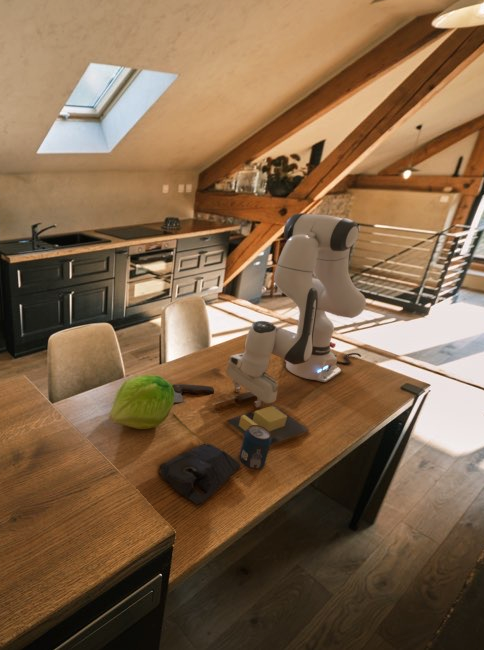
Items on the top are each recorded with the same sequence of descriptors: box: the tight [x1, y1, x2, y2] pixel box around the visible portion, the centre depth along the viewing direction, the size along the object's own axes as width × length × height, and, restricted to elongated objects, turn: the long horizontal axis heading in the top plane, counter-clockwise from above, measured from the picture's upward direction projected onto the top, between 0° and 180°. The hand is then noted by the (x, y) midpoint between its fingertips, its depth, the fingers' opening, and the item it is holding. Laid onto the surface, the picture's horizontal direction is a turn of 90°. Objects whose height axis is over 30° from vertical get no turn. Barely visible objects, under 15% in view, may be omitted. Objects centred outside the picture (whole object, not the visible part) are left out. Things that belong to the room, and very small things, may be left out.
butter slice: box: [239, 414, 257, 431], centre depth 122 cm, size 2×6×4 cm, turn 25°
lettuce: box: [108, 374, 175, 430], centre depth 124 cm, size 19×25×17 cm
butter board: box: [226, 404, 309, 446], centre depth 126 cm, size 22×14×6 cm, turn 114°
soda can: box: [238, 425, 272, 470], centre depth 110 cm, size 7×7×12 cm
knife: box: [213, 391, 258, 409], centre depth 137 cm, size 19×2×4 cm, turn 114°
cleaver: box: [171, 384, 215, 404], centre depth 142 cm, size 29×10×2 cm, turn 94°
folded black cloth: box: [159, 443, 241, 505], centre depth 108 cm, size 15×22×5 cm
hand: (246, 398), depth 139 cm, fingers open, 8 cm apart
